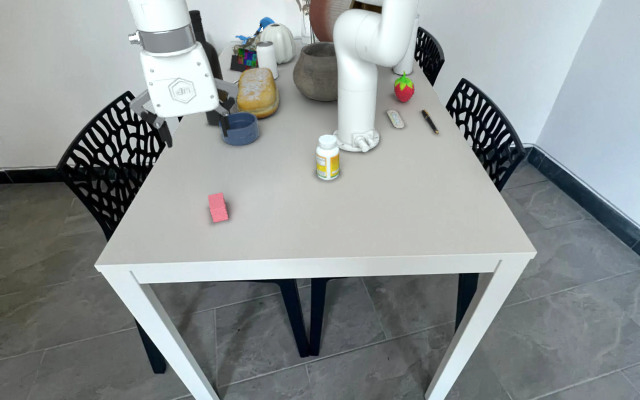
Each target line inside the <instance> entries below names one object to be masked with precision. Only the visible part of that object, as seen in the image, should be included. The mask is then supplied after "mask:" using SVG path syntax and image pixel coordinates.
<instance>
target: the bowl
mask: <svg viewBox="0 0 640 400" xmlns="http://www.w3.org/2000/svg"><path fill="white" fill-rule="evenodd" d="M227 116H228V121H229V125H230V130H227V134H228V137H224V135H223V130H222V126H221V122H220V121H219V126H218V127H219V130H220V134H221V138H222V141H223V142H225V143H226V144H228V145H230V146H235V147H241V146H247V145H249V144H251V143H254V142H255V141H256V140H257V139H258V137H259V136H260V128H259V127H260V126H259V121H258V119H257V117H256V116H255V115H254V114H252V113H248V112H238V111H237V112H232V113H231V114H229V115H227Z"/></svg>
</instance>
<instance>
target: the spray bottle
mask: <svg viewBox="0 0 640 400" xmlns="http://www.w3.org/2000/svg"><path fill="white" fill-rule="evenodd" d="M419 20H420V14H419V13H418V12H417V13H416V17H415V22H414V27H413V31H412V36H411V40H410V44H409V47H408V50H407V53H406V55H405V57H404V58H403V60H402V61H401V62H400V63H399V64H397V65H395V66H393V73H395V74H396V75H401V76H403V71H405V74H406V76H407V75H409V74H412V73H413V66H414V59H415V52H416V44H417V37H418V29H419V22H420V21H419Z"/></svg>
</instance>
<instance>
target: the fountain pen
mask: <svg viewBox="0 0 640 400" xmlns="http://www.w3.org/2000/svg"><path fill="white" fill-rule="evenodd" d="M421 113H422V115H423V117H424V119H425V120H426V121H427V123H428V124H429V125H430V128H432V130H433V131H434V132H435V133H436V134H439V130H438V129H437V127H436V125H435V123H434V122H433V119H432V118H431V116H430V113H429V111H427V110H426V109H424V108H423V109H422V110H421Z"/></svg>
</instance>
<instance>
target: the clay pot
mask: <svg viewBox="0 0 640 400" xmlns="http://www.w3.org/2000/svg"><path fill="white" fill-rule="evenodd" d="M292 80H293V84H294V86H295V87H296V88H297V90H298V91H299V92H301V93H302V94H303V95H304V96H306V97H307V98H309V99H312V100H313V101H314V100H315V101H319V102H330V101H336V100H338V66H337V57H336V52H335V47H334V42H327V41H324V42H320V41H316V42H313V43H309V44H307V45H304V46H303V47H302V48H301V50H300V53H299V58H298V59H297V61H296V63H295V65H294V67H293V70H292Z"/></svg>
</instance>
